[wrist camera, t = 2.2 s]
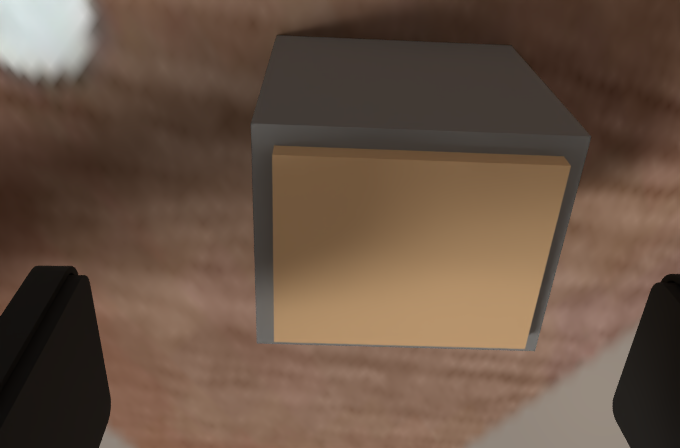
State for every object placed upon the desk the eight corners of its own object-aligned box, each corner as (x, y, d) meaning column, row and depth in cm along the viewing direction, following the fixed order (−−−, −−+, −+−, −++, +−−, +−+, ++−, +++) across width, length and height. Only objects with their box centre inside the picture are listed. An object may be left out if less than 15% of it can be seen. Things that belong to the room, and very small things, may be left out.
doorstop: (510, 44, 17) (599, 145, 11) (480, 213, 19) (539, 364, 14) (276, 34, 16) (247, 132, 11) (277, 206, 19) (254, 356, 13)
